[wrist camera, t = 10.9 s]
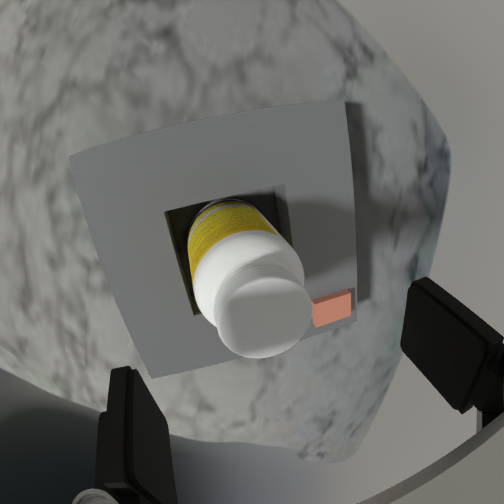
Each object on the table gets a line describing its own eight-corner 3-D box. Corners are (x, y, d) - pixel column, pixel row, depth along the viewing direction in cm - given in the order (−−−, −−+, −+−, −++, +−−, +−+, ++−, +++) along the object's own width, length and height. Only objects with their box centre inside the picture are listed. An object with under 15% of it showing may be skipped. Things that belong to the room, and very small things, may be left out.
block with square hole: (80, 152, 17) (65, 157, 14) (325, 101, 19) (349, 99, 17) (152, 357, 24) (151, 384, 21) (342, 304, 26) (360, 325, 23)
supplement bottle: (169, 242, 21) (170, 332, 12) (225, 179, 20) (270, 228, 11) (228, 288, 23) (265, 386, 14) (282, 232, 22) (352, 306, 14)
